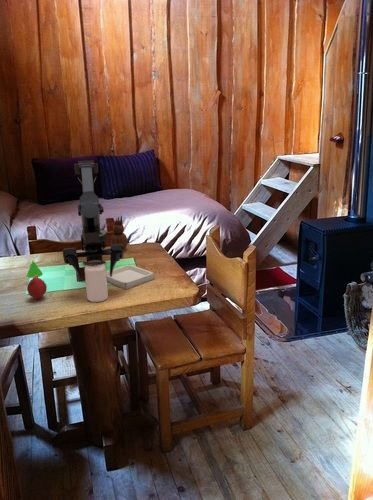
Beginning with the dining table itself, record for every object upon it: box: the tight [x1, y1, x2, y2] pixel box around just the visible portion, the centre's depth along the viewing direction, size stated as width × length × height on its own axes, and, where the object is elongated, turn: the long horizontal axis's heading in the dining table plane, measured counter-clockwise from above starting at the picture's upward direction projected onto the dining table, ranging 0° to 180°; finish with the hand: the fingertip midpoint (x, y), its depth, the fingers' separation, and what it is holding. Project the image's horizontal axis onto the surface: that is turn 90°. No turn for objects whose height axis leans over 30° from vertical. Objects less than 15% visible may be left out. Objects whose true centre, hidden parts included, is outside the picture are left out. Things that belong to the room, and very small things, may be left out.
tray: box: [106, 263, 156, 291], centre depth 161 cm, size 14×13×2 cm
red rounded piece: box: [26, 275, 48, 300], centre depth 146 cm, size 6×6×8 cm
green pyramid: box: [26, 260, 44, 279], centre depth 167 cm, size 6×6×6 cm
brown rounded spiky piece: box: [110, 215, 128, 251], centre depth 192 cm, size 7×6×15 cm
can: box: [84, 260, 109, 303], centre depth 144 cm, size 6×6×12 cm
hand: (96, 277), depth 143 cm, fingers open, 9 cm apart
